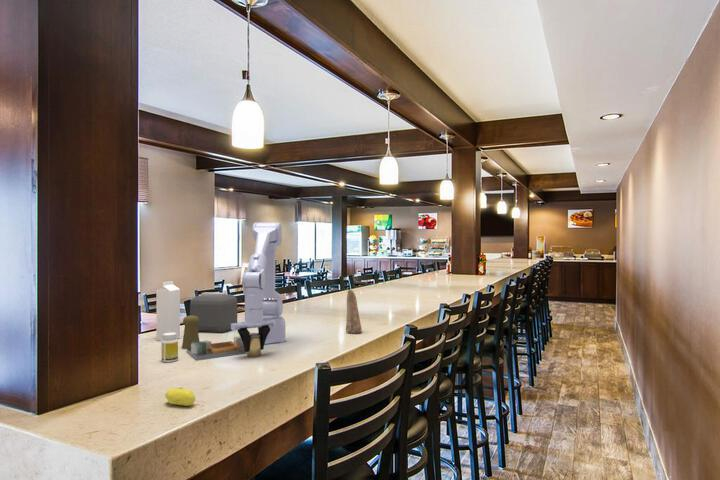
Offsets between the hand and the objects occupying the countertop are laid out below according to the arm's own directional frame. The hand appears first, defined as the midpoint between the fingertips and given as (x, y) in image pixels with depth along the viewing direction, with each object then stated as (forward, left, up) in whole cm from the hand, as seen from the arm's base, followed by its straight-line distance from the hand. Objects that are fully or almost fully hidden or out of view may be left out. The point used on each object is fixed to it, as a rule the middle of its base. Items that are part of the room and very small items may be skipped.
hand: (253, 350), depth 150 cm
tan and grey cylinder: (0, 0, -2) cm, 2 cm away
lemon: (+30, +33, -2) cm, 45 cm away
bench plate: (+7, -11, -2) cm, 13 cm away
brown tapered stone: (-47, -13, -2) cm, 49 cm away
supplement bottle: (+24, -9, -2) cm, 26 cm away
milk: (+18, -42, -2) cm, 46 cm away
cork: (+14, -24, -2) cm, 28 cm away
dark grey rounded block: (-1, -50, -2) cm, 50 cm away
